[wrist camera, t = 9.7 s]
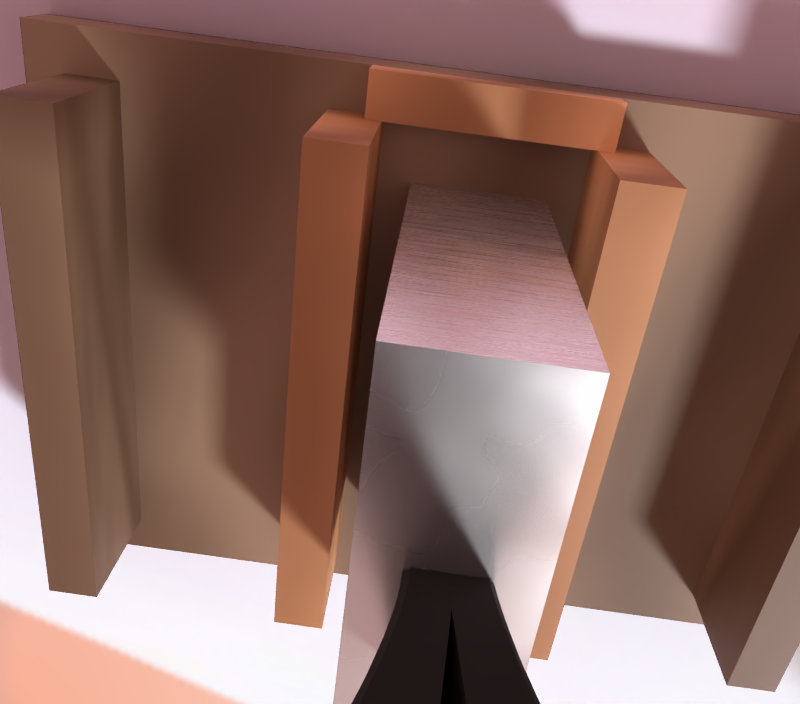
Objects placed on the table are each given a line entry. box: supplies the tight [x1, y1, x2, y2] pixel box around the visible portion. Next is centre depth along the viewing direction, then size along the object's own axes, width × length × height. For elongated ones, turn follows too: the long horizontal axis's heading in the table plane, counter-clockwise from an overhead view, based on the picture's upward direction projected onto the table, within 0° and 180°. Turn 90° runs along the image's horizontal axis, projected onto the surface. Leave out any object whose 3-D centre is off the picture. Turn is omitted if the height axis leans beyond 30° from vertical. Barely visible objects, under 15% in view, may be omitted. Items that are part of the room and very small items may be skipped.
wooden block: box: [333, 182, 610, 704], centre depth 15 cm, size 9×3×8 cm, turn 173°
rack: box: [0, 14, 800, 692], centre depth 18 cm, size 20×14×4 cm
